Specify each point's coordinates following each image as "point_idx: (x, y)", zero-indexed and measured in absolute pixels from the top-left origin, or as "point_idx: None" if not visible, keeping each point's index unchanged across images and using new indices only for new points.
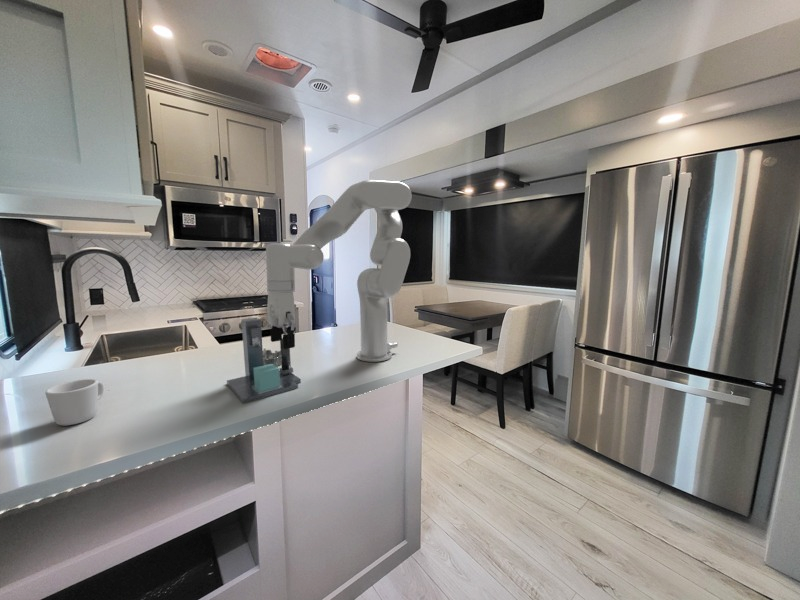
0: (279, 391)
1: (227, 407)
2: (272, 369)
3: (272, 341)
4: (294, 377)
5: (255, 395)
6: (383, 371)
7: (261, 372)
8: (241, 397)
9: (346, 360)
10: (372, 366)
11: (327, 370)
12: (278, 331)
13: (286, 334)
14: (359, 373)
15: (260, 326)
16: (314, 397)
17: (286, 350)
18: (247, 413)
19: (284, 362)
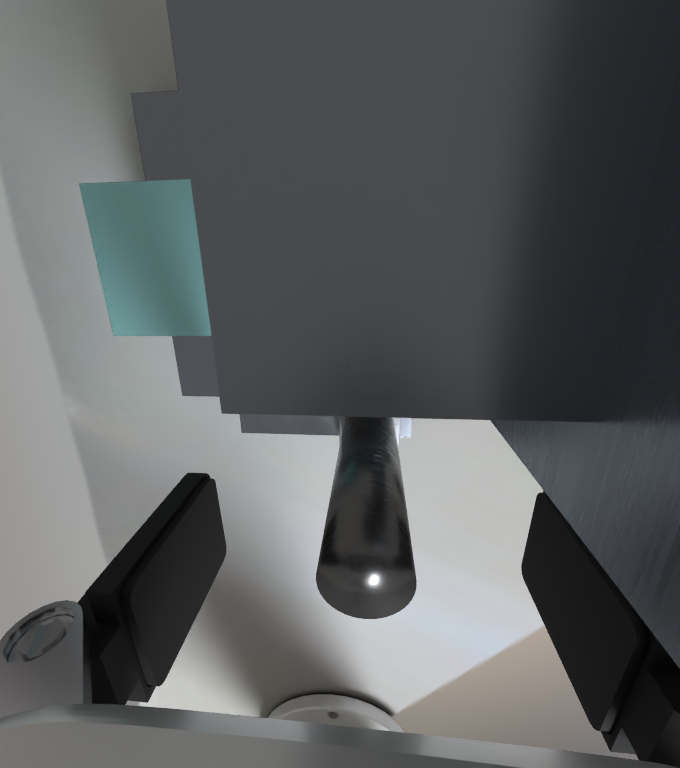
0: None
1: (139, 8)
2: (113, 291)
3: (544, 493)
4: (280, 420)
5: (153, 174)
6: (173, 672)
7: (85, 201)
8: (165, 94)
9: (374, 664)
10: (241, 679)
11: (313, 563)
12: (583, 657)
13: (30, 623)
14: (202, 618)
15: (559, 489)
16: (64, 398)
17: (330, 498)
18: (24, 95)
19: (346, 434)
